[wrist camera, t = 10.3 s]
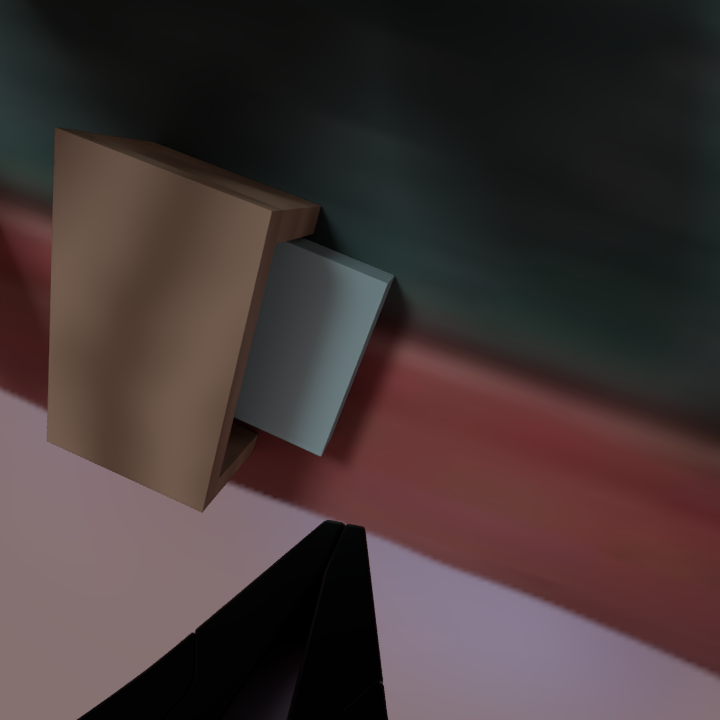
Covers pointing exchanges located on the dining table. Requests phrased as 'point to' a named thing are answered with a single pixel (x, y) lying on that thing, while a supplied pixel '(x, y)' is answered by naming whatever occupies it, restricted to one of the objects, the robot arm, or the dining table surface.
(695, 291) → the dining table surface
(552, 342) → the dining table surface
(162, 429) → the low shelf
